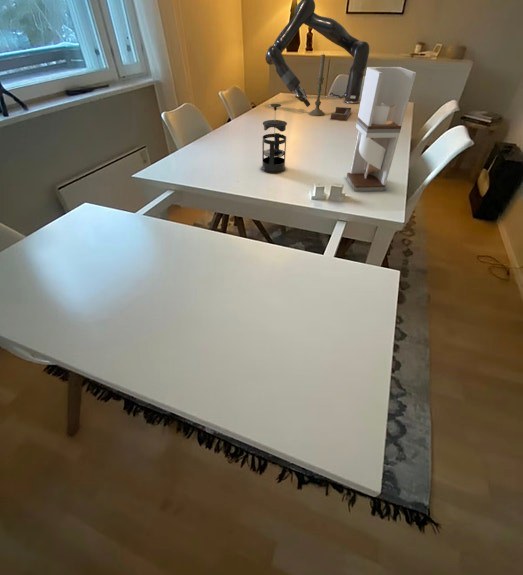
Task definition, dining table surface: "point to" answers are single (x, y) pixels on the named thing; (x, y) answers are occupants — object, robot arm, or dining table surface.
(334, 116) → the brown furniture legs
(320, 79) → the candlestick holder
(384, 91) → the white architectural model
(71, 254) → the dining table surface
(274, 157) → the french press
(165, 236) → the dining table surface
